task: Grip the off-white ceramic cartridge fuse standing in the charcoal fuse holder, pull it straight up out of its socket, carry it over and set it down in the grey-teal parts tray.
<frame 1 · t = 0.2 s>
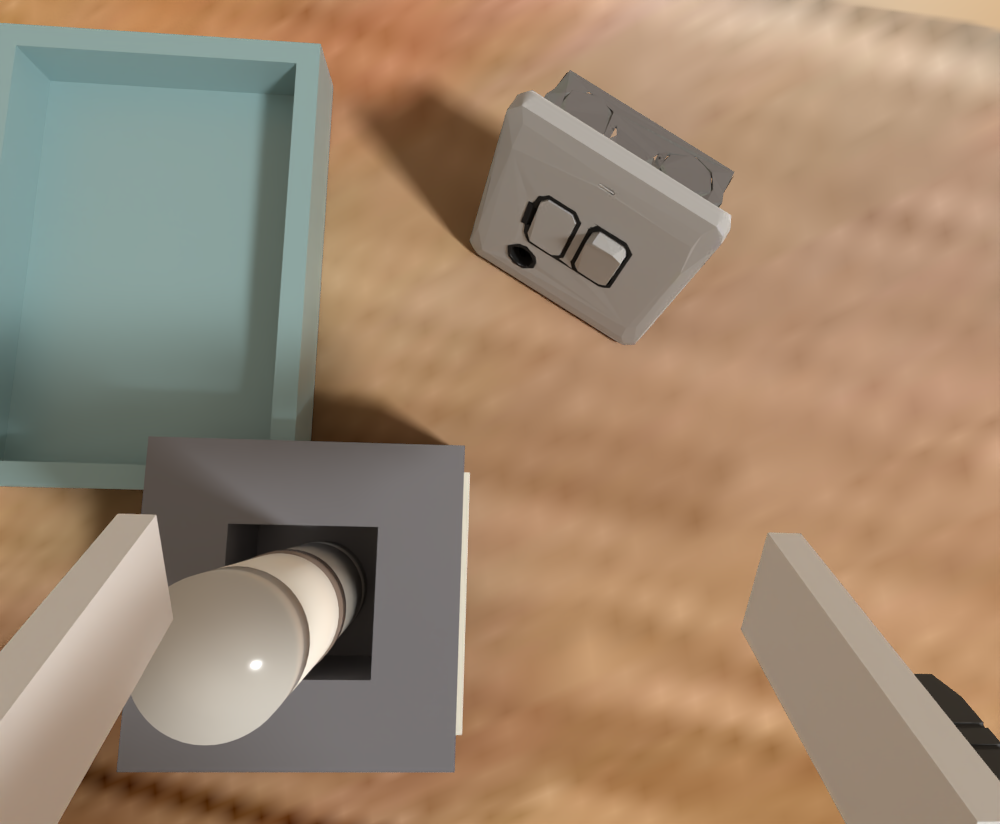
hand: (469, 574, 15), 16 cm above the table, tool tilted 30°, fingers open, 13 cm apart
parts tray: (169, 274, 31), on the table
electrical switch: (571, 255, 33), on the table
fuse: (320, 587, 29), point 1 cm above the table, touching fuse holder
fuse holder: (324, 584, 30), on the table
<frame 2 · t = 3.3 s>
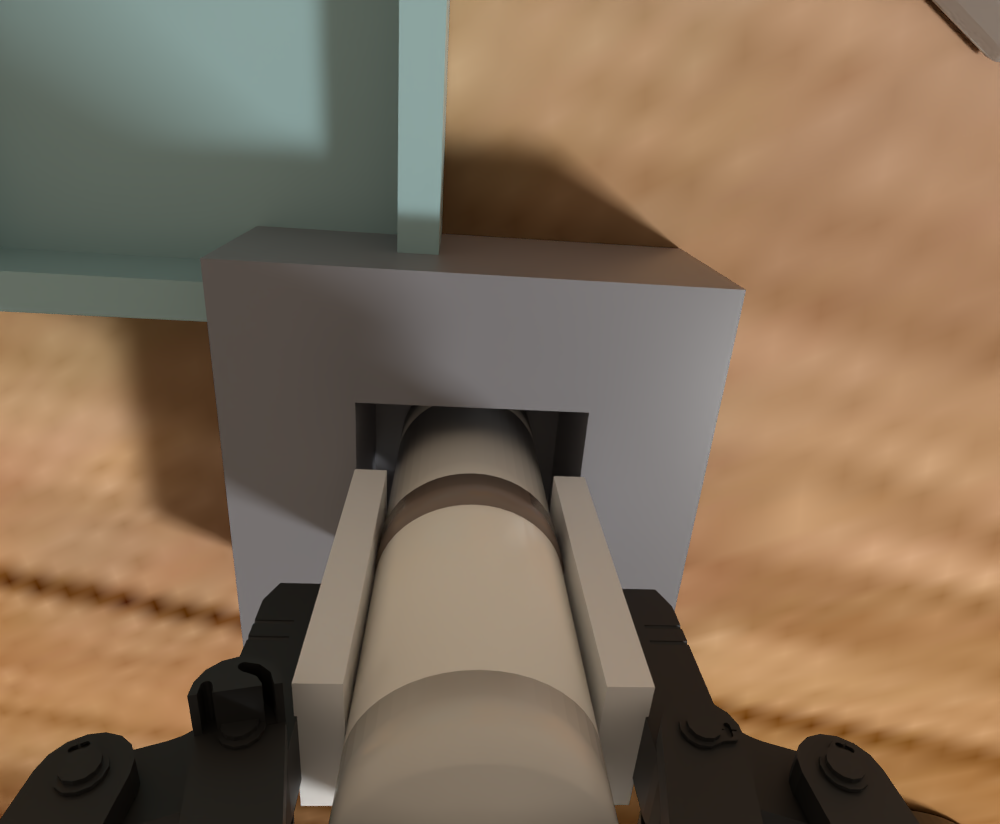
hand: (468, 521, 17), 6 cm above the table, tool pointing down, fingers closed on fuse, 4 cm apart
fuse: (466, 438, 21), point 1 cm above the table, touching fuse holder, gripper
fuse holder: (466, 424, 22), on the table
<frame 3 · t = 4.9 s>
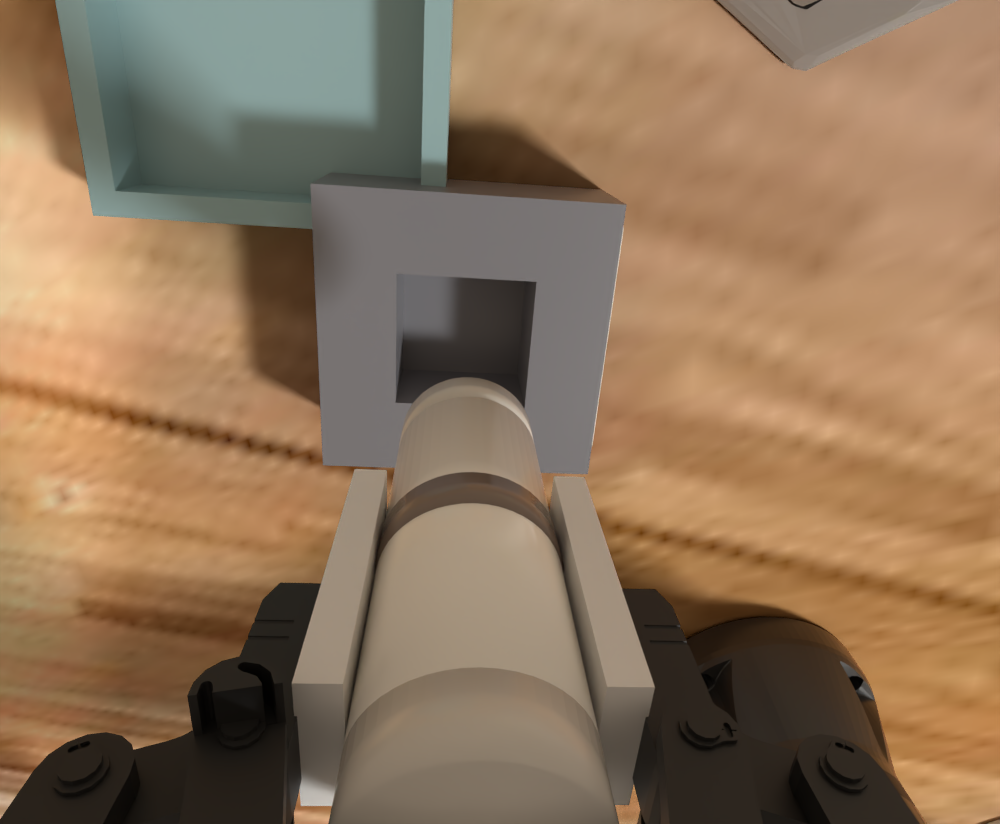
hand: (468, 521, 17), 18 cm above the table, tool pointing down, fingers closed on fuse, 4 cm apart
fuse: (466, 437, 21), point 13 cm above the table, touching gripper
fuse holder: (463, 310, 32), on the table
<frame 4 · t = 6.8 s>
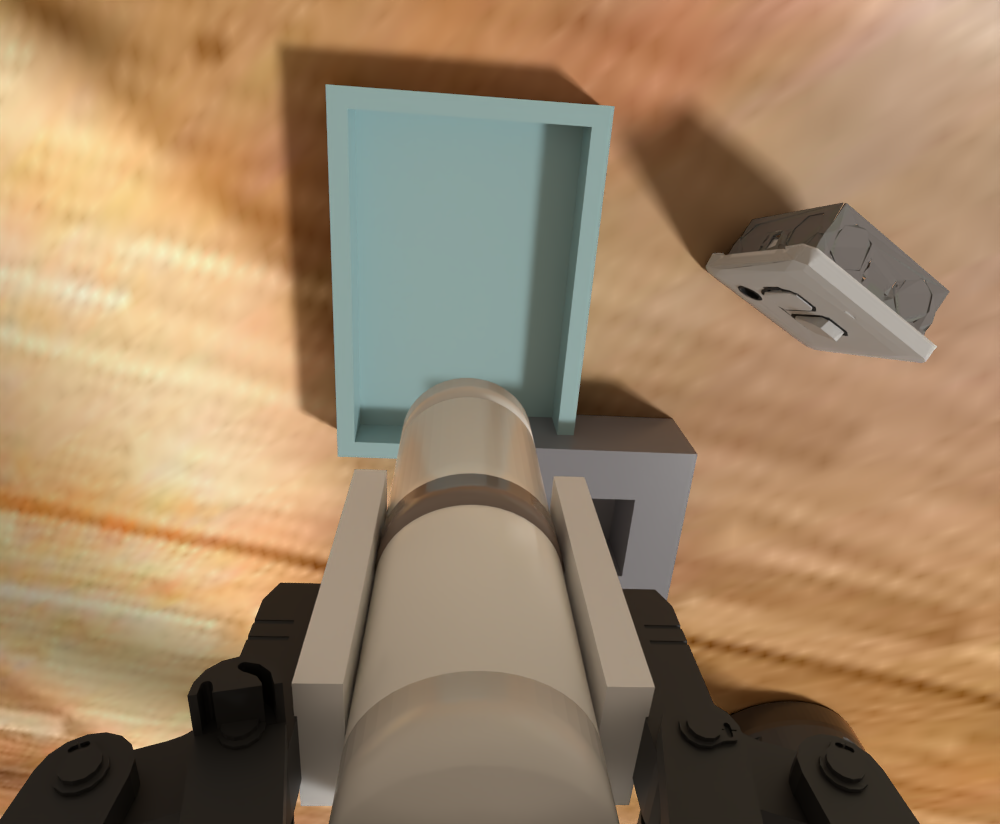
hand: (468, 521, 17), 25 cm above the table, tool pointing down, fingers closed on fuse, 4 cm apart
parts tray: (462, 285, 39), on the table
electrical switch: (781, 268, 40), on the table
fuse: (466, 438, 21), point 20 cm above the table, touching gripper
fuse holder: (571, 495, 45), on the table
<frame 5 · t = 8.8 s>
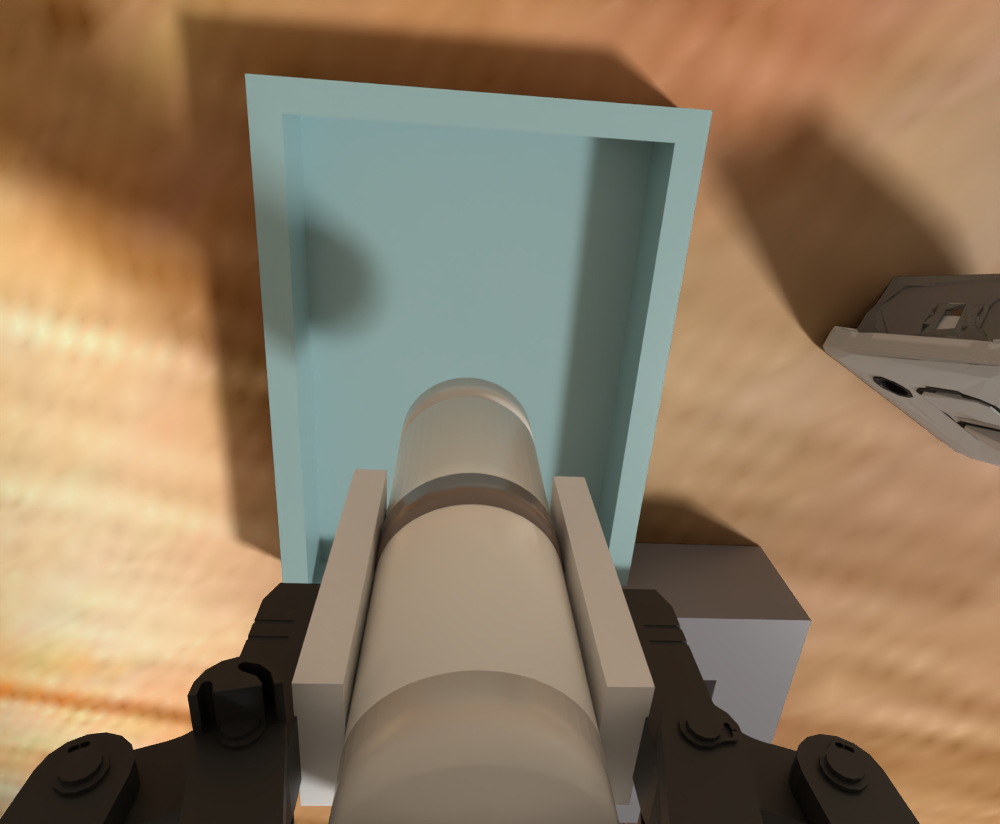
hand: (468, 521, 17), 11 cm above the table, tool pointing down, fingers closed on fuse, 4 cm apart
parts tray: (467, 370, 27), on the table
electrical switch: (928, 344, 28), on the table
fuse: (466, 437, 21), point 7 cm above the table, touching gripper
fuse holder: (615, 644, 33), on the table
when the fingers open (7 cm above the table, at t = 10.3 s): fuse drops 1 cm, resting on parts tray.
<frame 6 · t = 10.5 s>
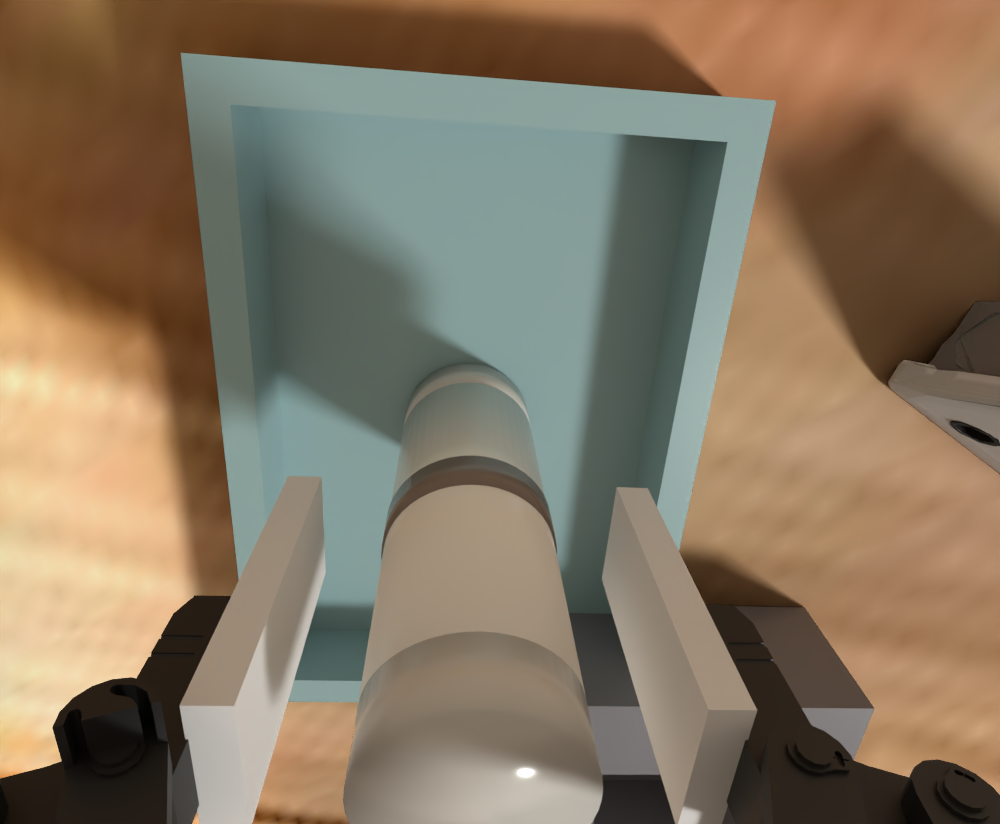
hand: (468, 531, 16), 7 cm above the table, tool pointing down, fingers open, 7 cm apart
parts tray: (466, 411, 23), on the table
fuse: (467, 419, 22), point 1 cm above the table, touching parts tray
fuse holder: (635, 714, 29), on the table
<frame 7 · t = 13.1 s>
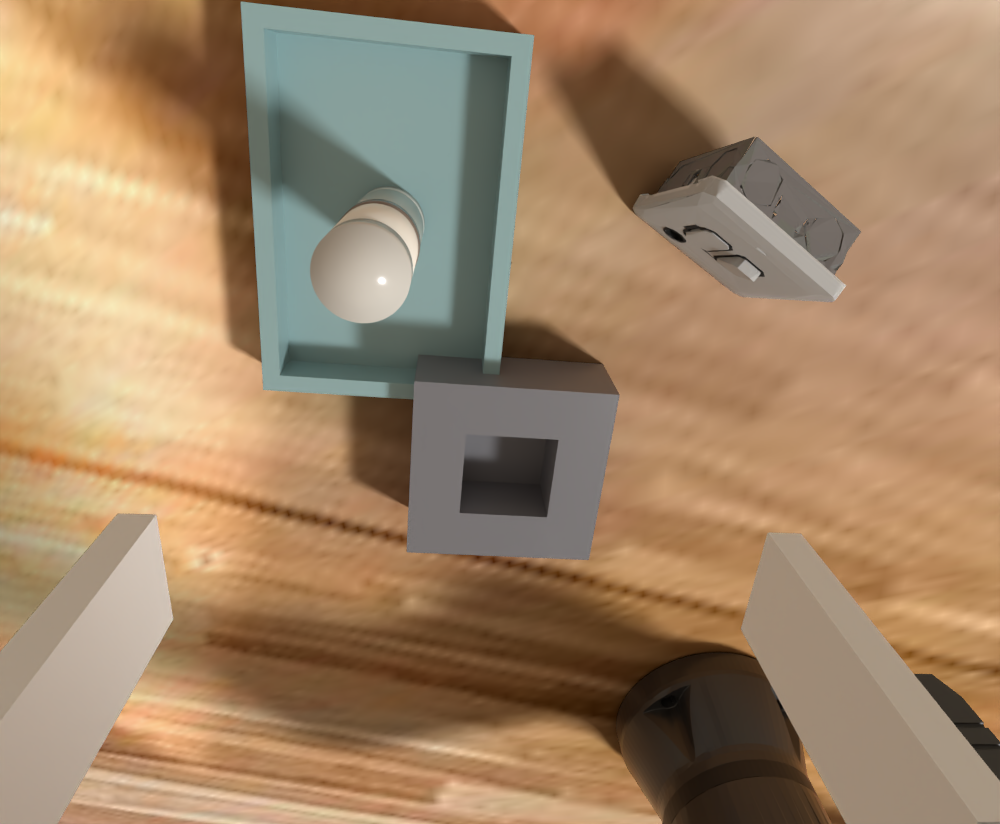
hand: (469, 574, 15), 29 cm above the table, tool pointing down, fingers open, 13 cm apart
parts tray: (390, 220, 39), on the table
electrical switch: (709, 213, 40), on the table
fuse: (389, 222, 39), point 1 cm above the table, touching parts tray
fuse holder: (503, 439, 46), on the table
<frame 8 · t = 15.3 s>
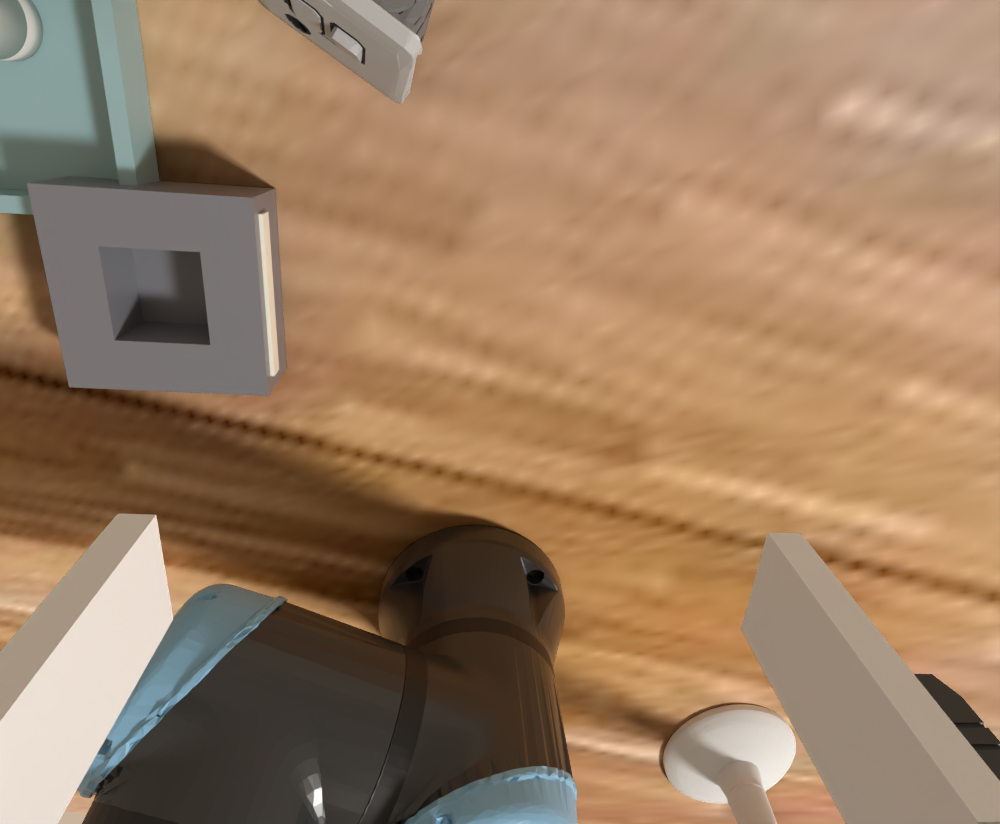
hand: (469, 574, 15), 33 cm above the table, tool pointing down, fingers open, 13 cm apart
parts tray: (11, 22, 38), on the table
electrical switch: (353, 11, 38), on the table
fuse: (4, 21, 37), point 1 cm above the table, touching parts tray
fuse holder: (187, 277, 44), on the table
candlestick: (727, 750, 66), on the table
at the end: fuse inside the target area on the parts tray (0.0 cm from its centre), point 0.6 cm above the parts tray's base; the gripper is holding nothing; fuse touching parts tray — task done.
